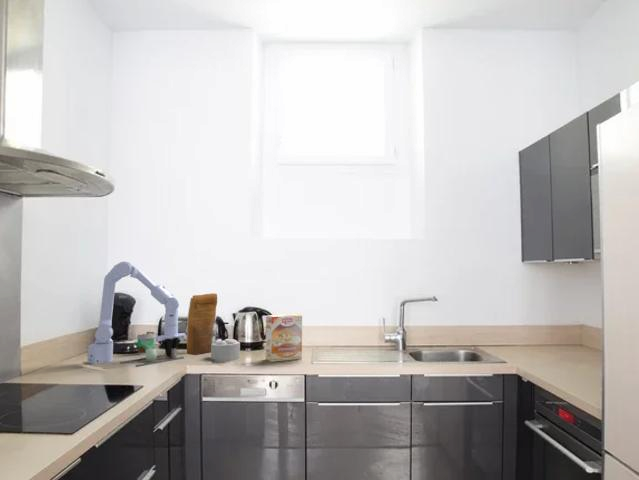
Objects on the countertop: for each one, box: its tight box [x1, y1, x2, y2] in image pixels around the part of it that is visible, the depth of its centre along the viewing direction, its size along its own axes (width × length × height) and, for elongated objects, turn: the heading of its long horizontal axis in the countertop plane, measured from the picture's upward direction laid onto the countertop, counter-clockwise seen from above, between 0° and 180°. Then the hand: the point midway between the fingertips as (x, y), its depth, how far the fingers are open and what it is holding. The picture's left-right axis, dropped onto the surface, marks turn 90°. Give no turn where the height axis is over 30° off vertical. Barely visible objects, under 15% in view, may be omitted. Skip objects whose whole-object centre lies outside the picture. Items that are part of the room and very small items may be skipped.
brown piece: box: [136, 348, 178, 364], centre depth 214 cm, size 15×9×5 cm, turn 144°
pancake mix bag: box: [186, 293, 218, 356], centre depth 238 cm, size 7×19×28 cm, turn 145°
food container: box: [136, 331, 157, 355], centre depth 232 cm, size 12×6×10 cm, turn 179°
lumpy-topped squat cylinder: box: [210, 338, 241, 363], centre depth 221 cm, size 10×13×9 cm
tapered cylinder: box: [145, 347, 158, 362], centre depth 211 cm, size 4×4×5 cm
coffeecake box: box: [265, 313, 303, 363], centre depth 221 cm, size 15×7×20 cm, turn 118°
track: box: [119, 353, 185, 368], centre depth 212 cm, size 23×12×2 cm, turn 144°
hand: (170, 356), depth 219 cm, fingers closed on brown piece
